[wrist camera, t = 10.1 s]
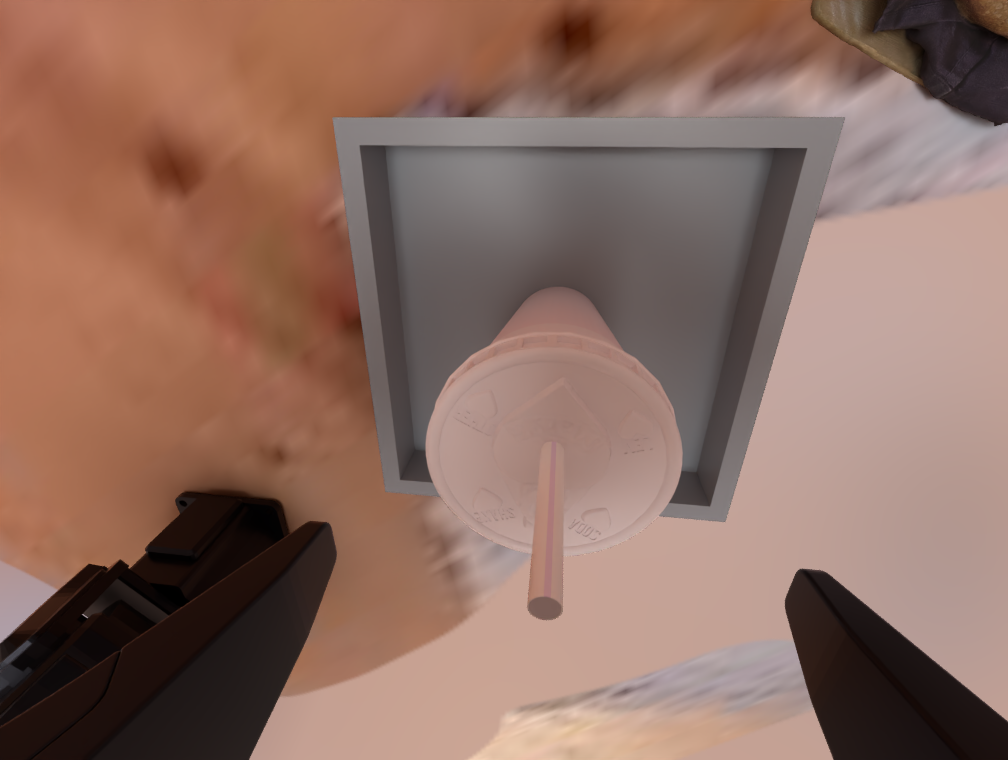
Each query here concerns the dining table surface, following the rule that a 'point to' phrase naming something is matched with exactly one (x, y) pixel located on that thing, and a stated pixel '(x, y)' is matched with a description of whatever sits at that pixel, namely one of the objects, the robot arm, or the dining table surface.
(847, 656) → the robot arm
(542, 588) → the smoothie
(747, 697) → the dining table surface
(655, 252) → the gray square tray
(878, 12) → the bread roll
